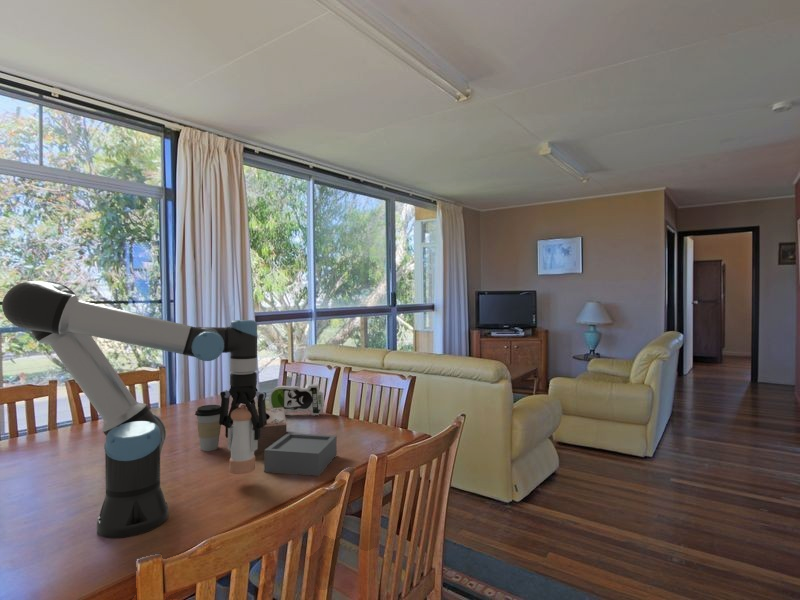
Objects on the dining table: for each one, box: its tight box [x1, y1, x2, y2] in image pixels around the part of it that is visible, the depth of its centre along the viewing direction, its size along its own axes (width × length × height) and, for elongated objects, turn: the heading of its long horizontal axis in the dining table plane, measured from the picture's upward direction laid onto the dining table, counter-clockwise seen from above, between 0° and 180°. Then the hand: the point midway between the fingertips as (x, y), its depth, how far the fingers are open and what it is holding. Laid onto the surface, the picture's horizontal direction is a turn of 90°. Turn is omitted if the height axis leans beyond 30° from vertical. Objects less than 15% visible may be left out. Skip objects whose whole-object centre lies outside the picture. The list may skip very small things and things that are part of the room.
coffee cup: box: [194, 404, 222, 452], centre depth 165 cm, size 9×9×15 cm
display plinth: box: [263, 432, 338, 477], centre depth 150 cm, size 18×18×7 cm
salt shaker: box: [228, 404, 256, 475], centre depth 134 cm, size 7×7×19 cm
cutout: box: [268, 383, 325, 416], centre depth 210 cm, size 15×3×25 cm
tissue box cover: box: [254, 407, 287, 455], centre depth 172 cm, size 26×14×10 cm, turn 16°
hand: (242, 449), depth 134 cm, fingers closed on salt shaker, 7 cm apart
